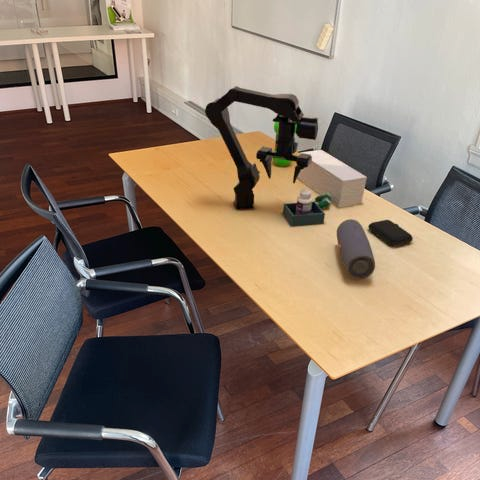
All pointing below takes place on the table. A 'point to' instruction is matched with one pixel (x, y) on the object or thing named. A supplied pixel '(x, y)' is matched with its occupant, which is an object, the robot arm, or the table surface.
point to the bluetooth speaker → (355, 249)
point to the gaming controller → (323, 200)
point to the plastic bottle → (278, 161)
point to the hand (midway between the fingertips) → (281, 180)
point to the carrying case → (390, 232)
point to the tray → (303, 215)
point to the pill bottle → (304, 203)
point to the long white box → (333, 179)
